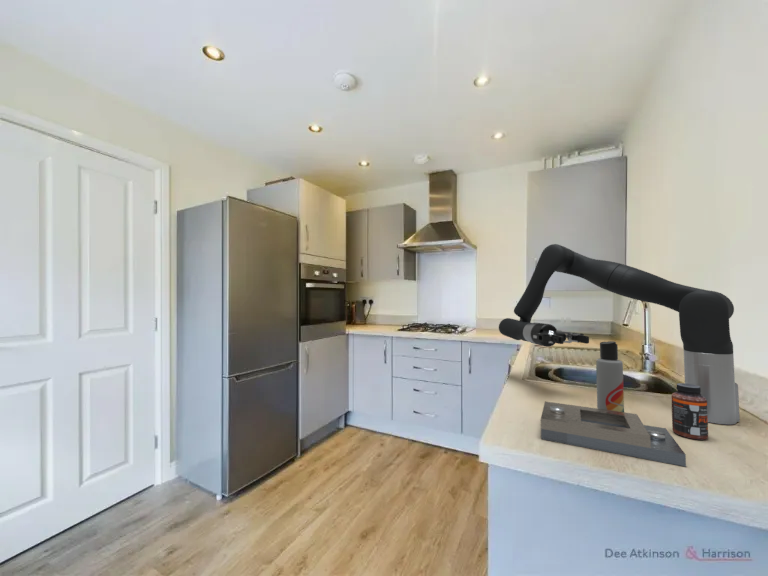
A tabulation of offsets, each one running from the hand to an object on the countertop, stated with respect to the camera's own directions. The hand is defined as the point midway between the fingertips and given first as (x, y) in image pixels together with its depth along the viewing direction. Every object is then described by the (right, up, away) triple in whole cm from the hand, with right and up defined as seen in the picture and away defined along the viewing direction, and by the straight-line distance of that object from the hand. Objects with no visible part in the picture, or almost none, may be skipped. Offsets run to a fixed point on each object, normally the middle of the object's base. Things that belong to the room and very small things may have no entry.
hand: (575, 340), depth 95 cm
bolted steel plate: (-8, -18, -24) cm, 31 cm away
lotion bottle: (+2, -19, -12) cm, 22 cm away
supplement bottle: (+13, -18, -22) cm, 31 cm away
